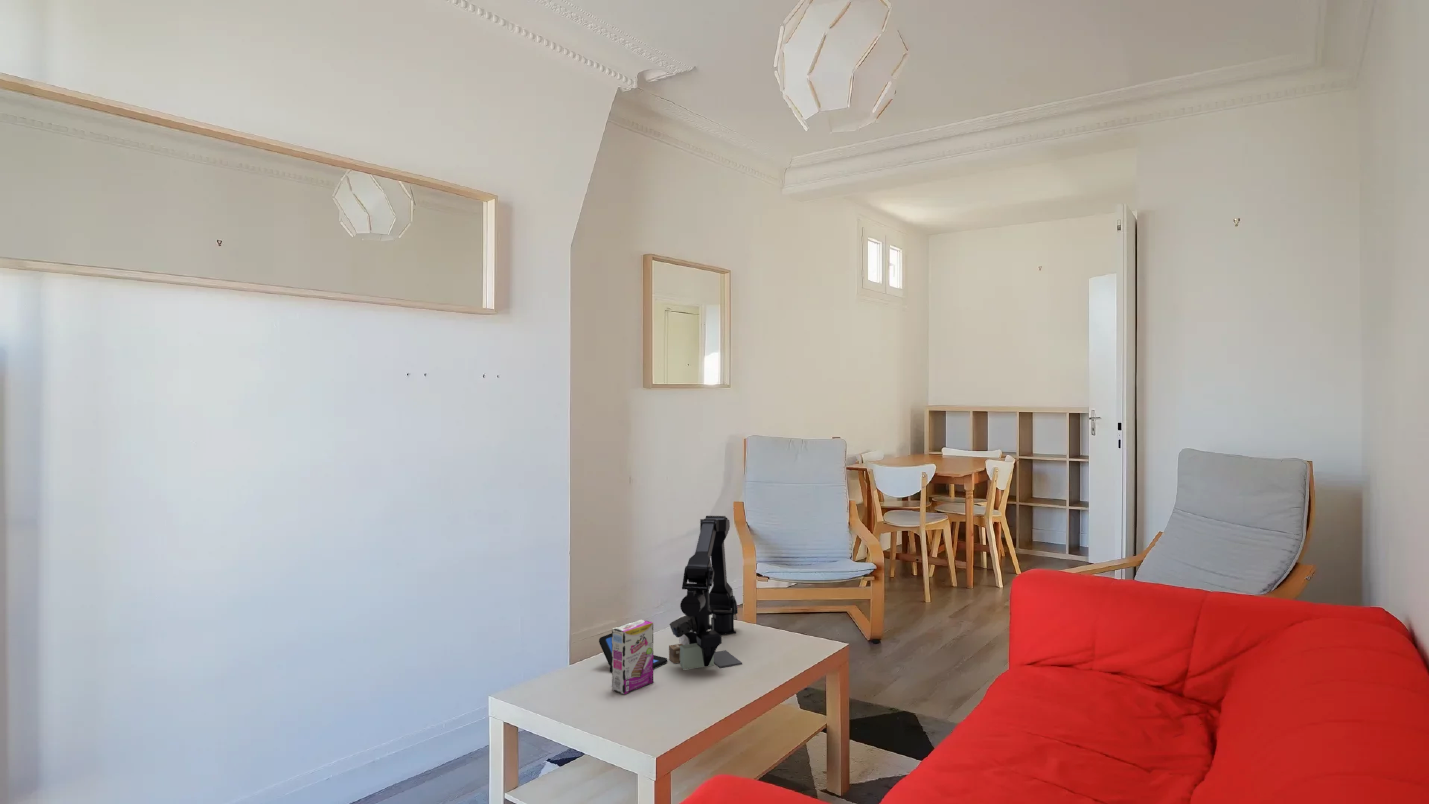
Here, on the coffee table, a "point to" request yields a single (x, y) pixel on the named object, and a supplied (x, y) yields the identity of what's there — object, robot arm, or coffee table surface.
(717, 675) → the coffee table surface
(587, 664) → the coffee table surface
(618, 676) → the candy bar box
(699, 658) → the sage rectangular block
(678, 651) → the letter block
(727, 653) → the dark gray panel
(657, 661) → the game console
